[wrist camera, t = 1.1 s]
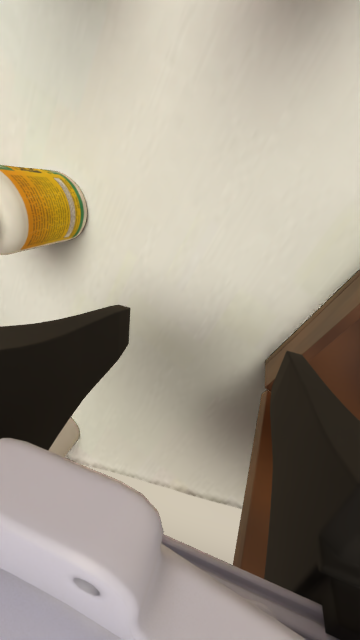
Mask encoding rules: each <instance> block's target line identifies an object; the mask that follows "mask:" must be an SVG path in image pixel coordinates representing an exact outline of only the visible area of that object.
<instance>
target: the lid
mask: <svg viewBox="0 0 360 640" xmlns="http://www.w3.org/2000/svg"><path fill="white" fill-rule="evenodd" d="M270 400H271V392H270V391H268V390H266V391H265V392H264V393H262V395H261V401H260V407H259V413H258V419H257V424H256V430H255V436H254V442H253V448H252V454H251V460H250V466H249V472H248V478H247V484H246V490H245V496H244V502H243V508H242V514H241V520H240V526H239V532H238V538H237V544H236V549H235V555H234V561H233V566H236V567H238V568H240V569H242V570H244V571H247V572H249V573H251V574H253V575H256V576H258V577H260V578H262V579H264V574H265V565H266V555H267V544H268V532H269V521H270V506H271V491H272V472H273V455H272V438H271V420H270Z"/></svg>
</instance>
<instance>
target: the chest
mask: <svg viewBox="0 0 360 640" xmlns="http://www.w3.org/2000/svg"><path fill="white" fill-rule="evenodd" d="M286 351H290V352H294V353H298V354H301V355H303V357H304V358H305V359H306V360H307V361H308V363H309V364H310V365H311V367H312V368H313V369H314V370H315V372H316V373H317V374H318V375H319V377H320V378H321V379H322V381H323V382H324V383H325V384H326V385H327V387H328V388H329V389H330V390H331V391H332V392H333V394H334V395H335V396H336V397H337V398H338V399H339V400H340V401H341V402H342V404H343V405H344V406H345V407H346V408H347V409H348V410H349V411H350V412H351V413H352V414H353V415H354V416H355V417H356V418H357V419H358V420H359V421H360V270H359V271H358V272H357V273H356V274H355V275H354V276H353V277H352V278H351V279H349V280H348V281H347V282H346V283H345V284H344V285H343V286H342V287H341V288H340V289H339V290H338V291H337V292H336V293H335V294H334V295H333V296H332V297H331V298H330V299H329V300H328V301H327V302H326V303H325V304H324V305H323V306H322V307H320V308H319V309H318V310H317V311H316V312H315V313H314V314H313V315H312V316H311V317H310V318H309V319H308V320H307V321H306V322H305V323H304V324H303V325H302V326H301V327H300V328H299V329H298V330H297V331H296V332H295V333H294V334H293V335H291V336H290V337H289V338H288V339H287V340H286V341H285V342H284V343H283V344H282V345H281V346H280V347H279V348H278V349H277V350H276V351H275V352H274V353H273V354H272V355H271V356H270V357H269V358H268V359H267V360H266V361H265V388H266V389H267V390H269V391H270V392H271V389H272V385H273V383H274V380H275V378H276V375H277V373H278V370H279V368H280V366H281V363H282V361H283V358H284V356H285V353H286Z"/></svg>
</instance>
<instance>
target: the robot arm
mask: <svg viewBox="0 0 360 640" xmlns="http://www.w3.org/2000/svg"><path fill="white" fill-rule="evenodd" d="M129 324H130V308H129V307H125V306H121V305H114V306H110V307H106V308H102V309H98V310H95V311H91V312H87V313H84V314H80V315H76V316H71V317H67V318H63V319H59V320H54V321H48V322H42V323H35V324H27V325H16V326H5V327H0V640H360V421H359V420H358V419H357V418H356V417H355V416H354V415H353V414H352V413H351V412H350V411H349V410H348V409H347V408H346V407H345V406H344V405H343V404H342V402H341V401H340V400H339V399H338V398H337V397H336V396H335V395H334V394H333V392H332V391H331V390H330V389H329V388H328V387H327V385H326V384H325V383H324V382H323V381H322V379H321V378H320V377H319V375H318V374H317V373H316V372H315V370H314V369H313V368H312V367H311V365H310V364H309V363H308V361H307V360H306V359H305V358H304V357H303V355H301V354H298V353H294V352H290V351H286V353H285V356H284V358H283V361H282V363H281V366H280V368H279V370H278V373H277V375H276V378H275V380H274V383H273V385H272V389H271V400H270V420H271V438H272V455H273V472H272V491H271V506H270V521H269V532H268V544H267V555H266V565H265V574H264V579H262V578H260V577H258V576H256V575H253V574H251V573H249V572H247V571H244V570H242V569H240V568H238V567H236V566H233V565H231V564H228V563H227V562H224V561H222V560H220V559H218V558H215V557H213V556H211V555H208V554H207V553H204V552H202V551H200V550H198V549H195V548H193V547H191V546H189V545H186V544H184V543H182V542H179V541H177V540H175V539H173V538H171V537H168V536H166V535H164V534H163V528H162V524H161V519H160V516H159V513H158V511H157V509H156V508H155V507H154V506H153V505H152V504H151V503H150V502H149V501H148V500H147V498H146V497H145V496H144V495H143V494H141V493H140V492H138V491H136V490H135V489H133V488H131V487H130V486H128V485H126V484H125V483H123V482H121V481H119V480H117V479H114V478H112V477H109V476H107V475H105V474H102V473H100V472H97V471H95V470H93V469H90V468H88V467H86V466H83V465H81V464H78V463H76V462H74V461H71V460H69V459H67V458H64V457H62V456H59V455H57V454H55V453H52V452H50V451H49V449H50V447H51V446H52V444H53V443H54V441H55V439H56V438H57V436H58V435H59V433H60V432H61V430H62V429H63V427H64V426H65V424H66V423H67V421H68V420H69V419H70V417H71V416H72V414H73V413H74V411H75V410H76V409H77V407H78V406H79V405H80V403H81V402H82V400H83V399H84V398H85V397H86V395H87V394H88V393H89V392H90V391H91V390H92V388H93V387H94V386H95V385H96V384H97V383H98V382H99V381H100V380H101V378H102V377H103V376H104V375H105V374H106V373H107V372H108V371H109V370H110V368H111V367H112V366H113V365H114V364H115V363H116V362H117V360H118V359H119V358H120V356H121V355H122V353H123V352H124V350H125V349H126V347H127V345H128V344H129Z"/></svg>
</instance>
